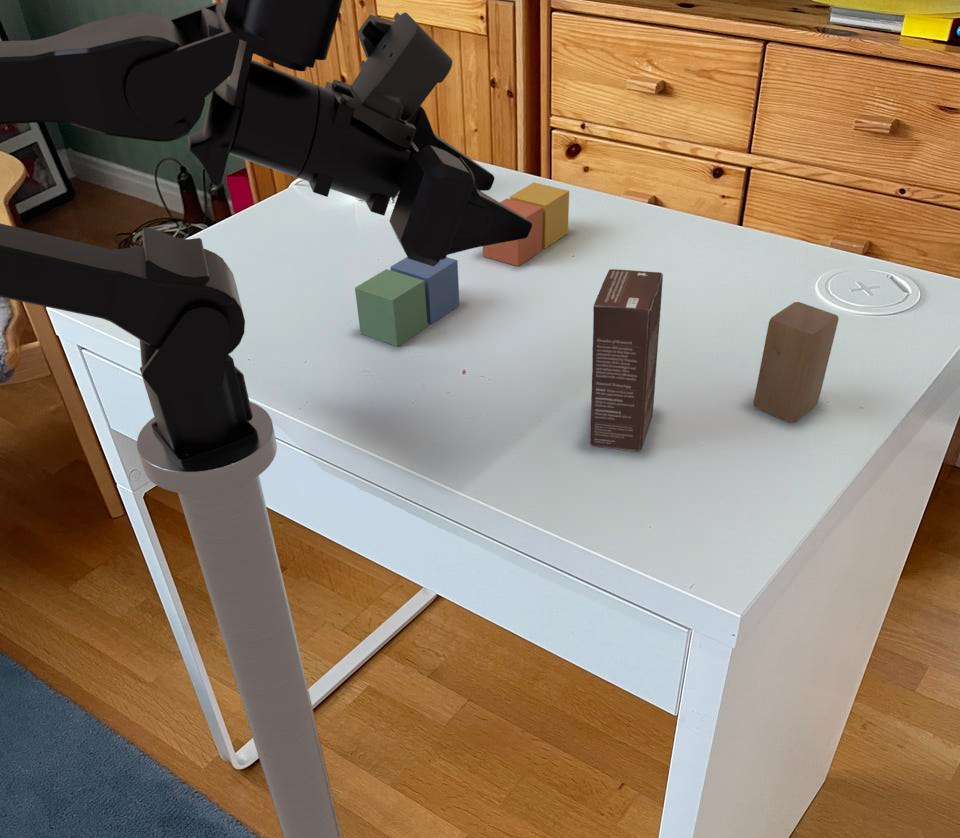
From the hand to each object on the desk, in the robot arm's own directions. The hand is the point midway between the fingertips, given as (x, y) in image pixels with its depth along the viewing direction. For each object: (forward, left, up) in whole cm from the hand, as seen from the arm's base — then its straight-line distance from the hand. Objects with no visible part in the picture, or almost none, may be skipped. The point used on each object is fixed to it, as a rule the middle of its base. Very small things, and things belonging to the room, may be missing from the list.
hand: (510, 205), depth 72 cm
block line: (+9, +20, -16) cm, 27 cm away
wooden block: (+17, -15, -16) cm, 28 cm away
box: (+4, -10, -16) cm, 19 cm away
